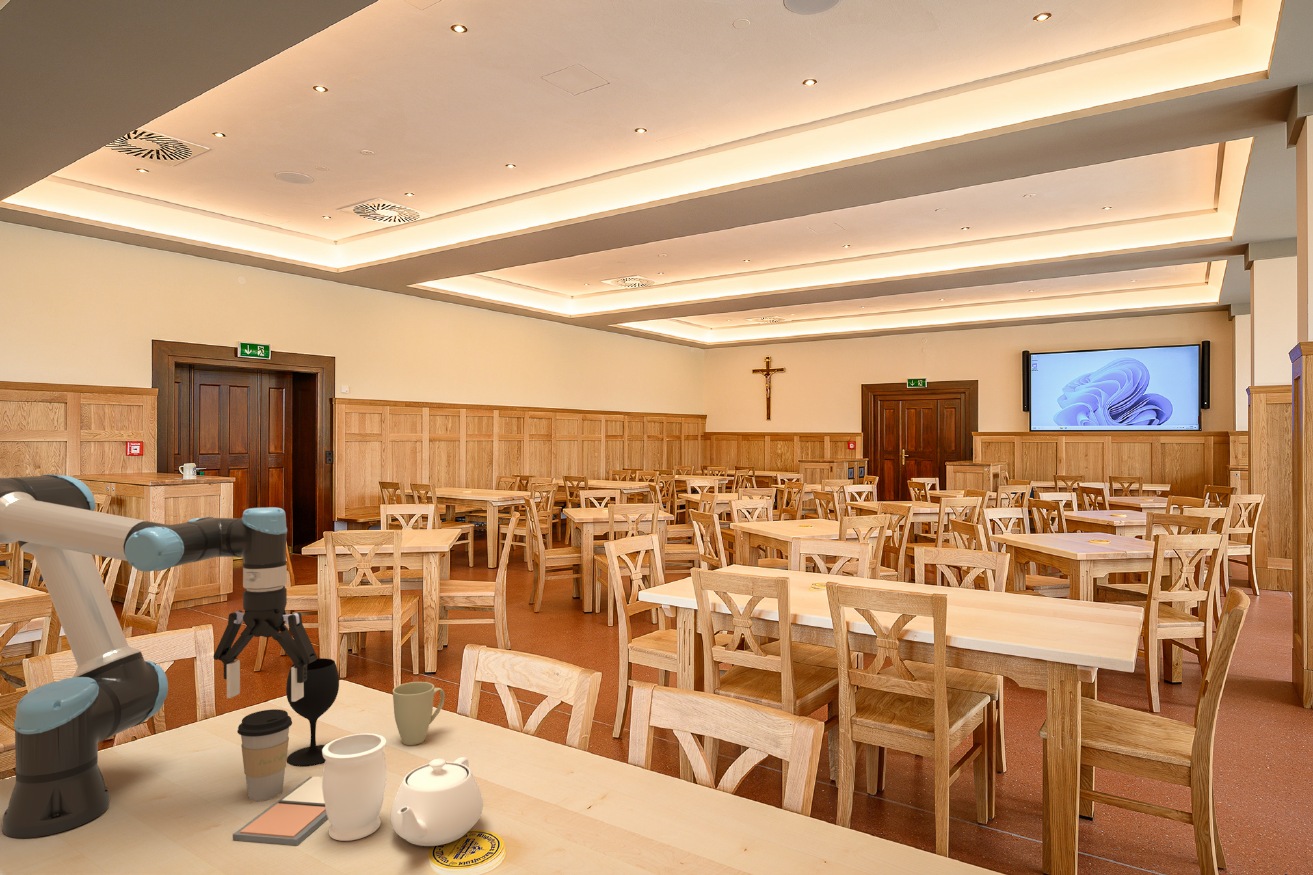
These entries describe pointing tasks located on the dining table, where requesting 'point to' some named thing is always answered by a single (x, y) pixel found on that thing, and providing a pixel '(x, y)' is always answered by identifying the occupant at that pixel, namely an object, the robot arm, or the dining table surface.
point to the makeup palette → (288, 817)
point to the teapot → (437, 803)
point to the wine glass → (314, 706)
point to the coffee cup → (265, 752)
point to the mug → (415, 710)
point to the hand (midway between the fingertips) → (265, 697)
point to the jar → (354, 784)
